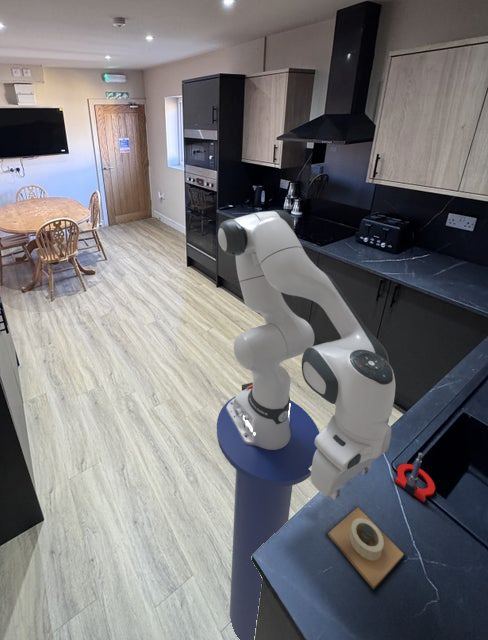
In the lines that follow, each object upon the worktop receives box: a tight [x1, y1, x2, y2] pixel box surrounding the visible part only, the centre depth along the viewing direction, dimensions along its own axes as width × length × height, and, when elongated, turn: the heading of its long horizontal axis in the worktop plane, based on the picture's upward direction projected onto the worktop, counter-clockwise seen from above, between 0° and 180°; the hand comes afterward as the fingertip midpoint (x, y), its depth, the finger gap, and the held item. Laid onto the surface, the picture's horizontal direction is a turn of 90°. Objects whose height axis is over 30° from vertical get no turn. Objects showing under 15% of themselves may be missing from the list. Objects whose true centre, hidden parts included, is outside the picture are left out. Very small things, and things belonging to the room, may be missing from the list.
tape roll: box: [350, 518, 384, 561], centre depth 73 cm, size 6×6×3 cm
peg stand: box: [327, 506, 404, 590], centre depth 72 cm, size 11×11×5 cm
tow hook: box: [394, 452, 436, 503], centre depth 85 cm, size 8×13×9 cm
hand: (348, 482), depth 66 cm, fingers open, 8 cm apart
